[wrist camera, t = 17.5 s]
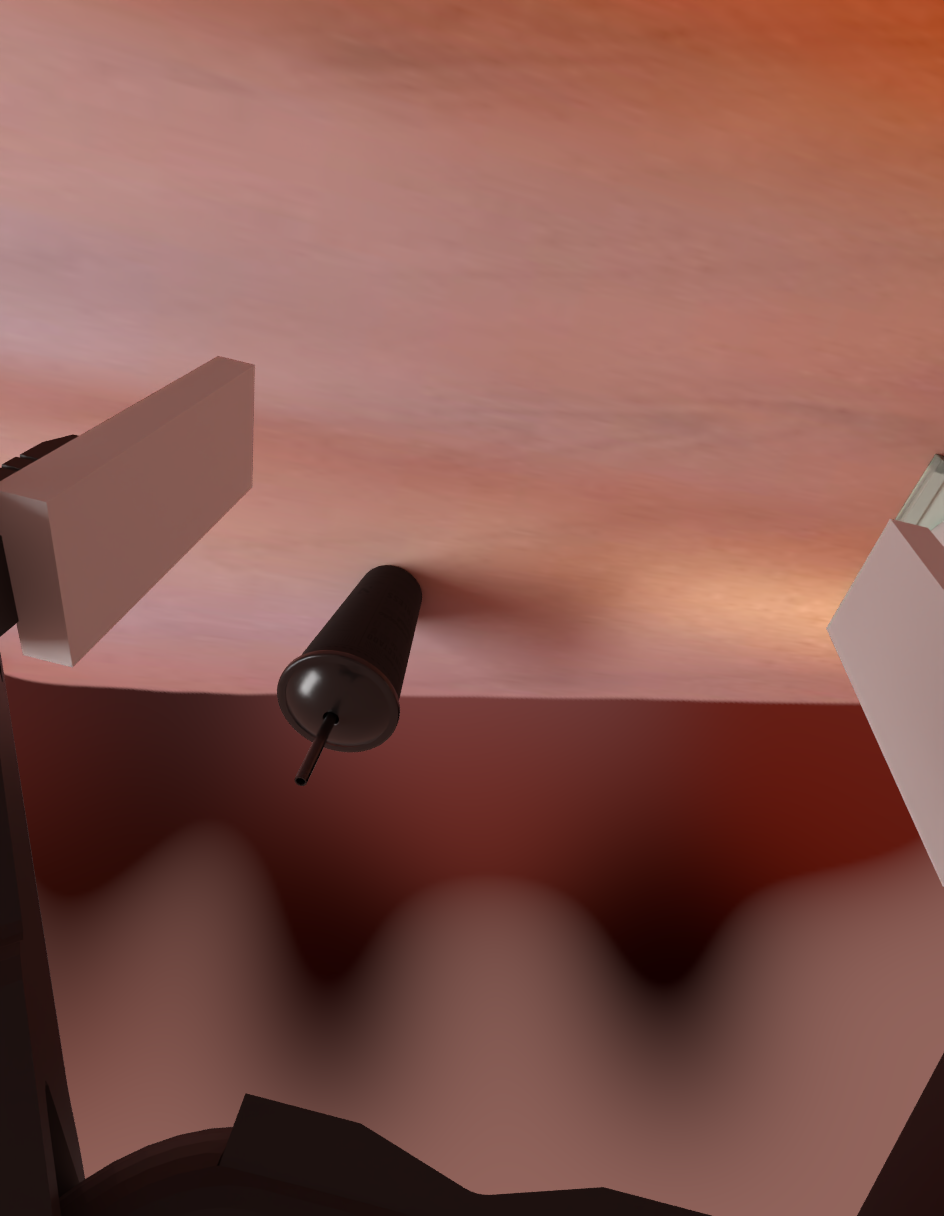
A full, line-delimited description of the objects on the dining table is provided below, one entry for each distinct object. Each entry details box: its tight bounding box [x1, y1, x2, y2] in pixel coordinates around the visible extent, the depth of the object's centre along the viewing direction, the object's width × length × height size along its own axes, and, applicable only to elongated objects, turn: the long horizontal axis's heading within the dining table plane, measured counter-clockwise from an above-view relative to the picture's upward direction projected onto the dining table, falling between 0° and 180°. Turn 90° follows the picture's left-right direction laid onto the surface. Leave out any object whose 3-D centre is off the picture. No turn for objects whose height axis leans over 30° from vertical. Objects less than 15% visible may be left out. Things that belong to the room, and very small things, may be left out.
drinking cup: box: [277, 566, 422, 786], centre depth 47 cm, size 8×8×20 cm
